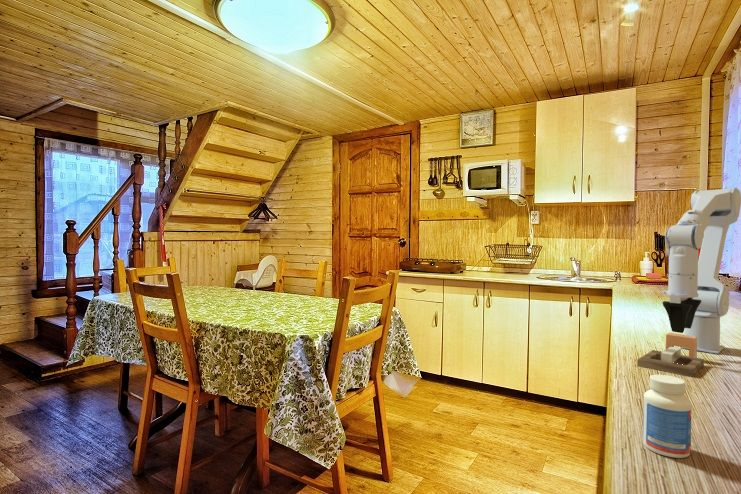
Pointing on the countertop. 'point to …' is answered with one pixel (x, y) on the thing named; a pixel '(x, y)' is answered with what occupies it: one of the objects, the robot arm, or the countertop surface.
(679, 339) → the orange block
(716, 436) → the countertop surface
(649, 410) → the pill bottle
